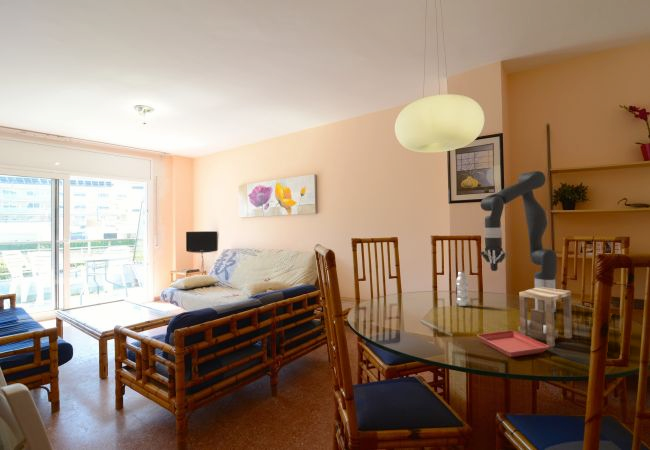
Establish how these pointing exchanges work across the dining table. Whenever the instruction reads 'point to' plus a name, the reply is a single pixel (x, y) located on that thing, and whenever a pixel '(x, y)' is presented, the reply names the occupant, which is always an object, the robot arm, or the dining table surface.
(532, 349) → the plant saucer
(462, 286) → the plastic bottle
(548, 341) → the stool
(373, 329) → the dining table surface
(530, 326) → the caddy
